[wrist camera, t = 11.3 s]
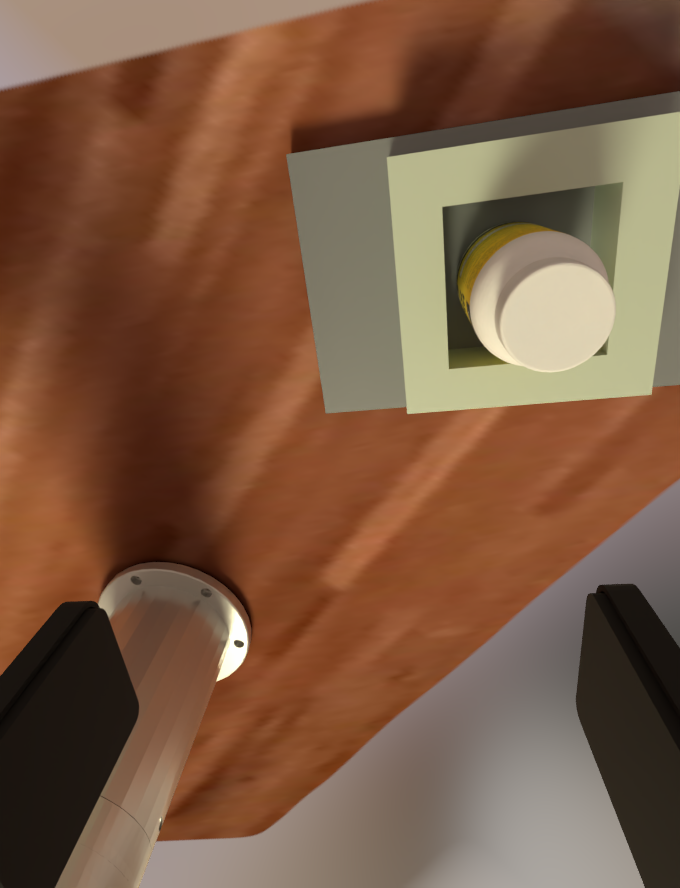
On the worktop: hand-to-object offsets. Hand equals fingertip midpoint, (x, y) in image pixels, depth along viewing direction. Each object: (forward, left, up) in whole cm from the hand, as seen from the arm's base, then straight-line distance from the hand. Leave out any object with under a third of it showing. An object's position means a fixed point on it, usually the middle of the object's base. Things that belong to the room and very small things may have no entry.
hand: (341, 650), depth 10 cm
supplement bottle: (+7, -3, -22) cm, 23 cm away
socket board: (+7, -3, -23) cm, 24 cm away
